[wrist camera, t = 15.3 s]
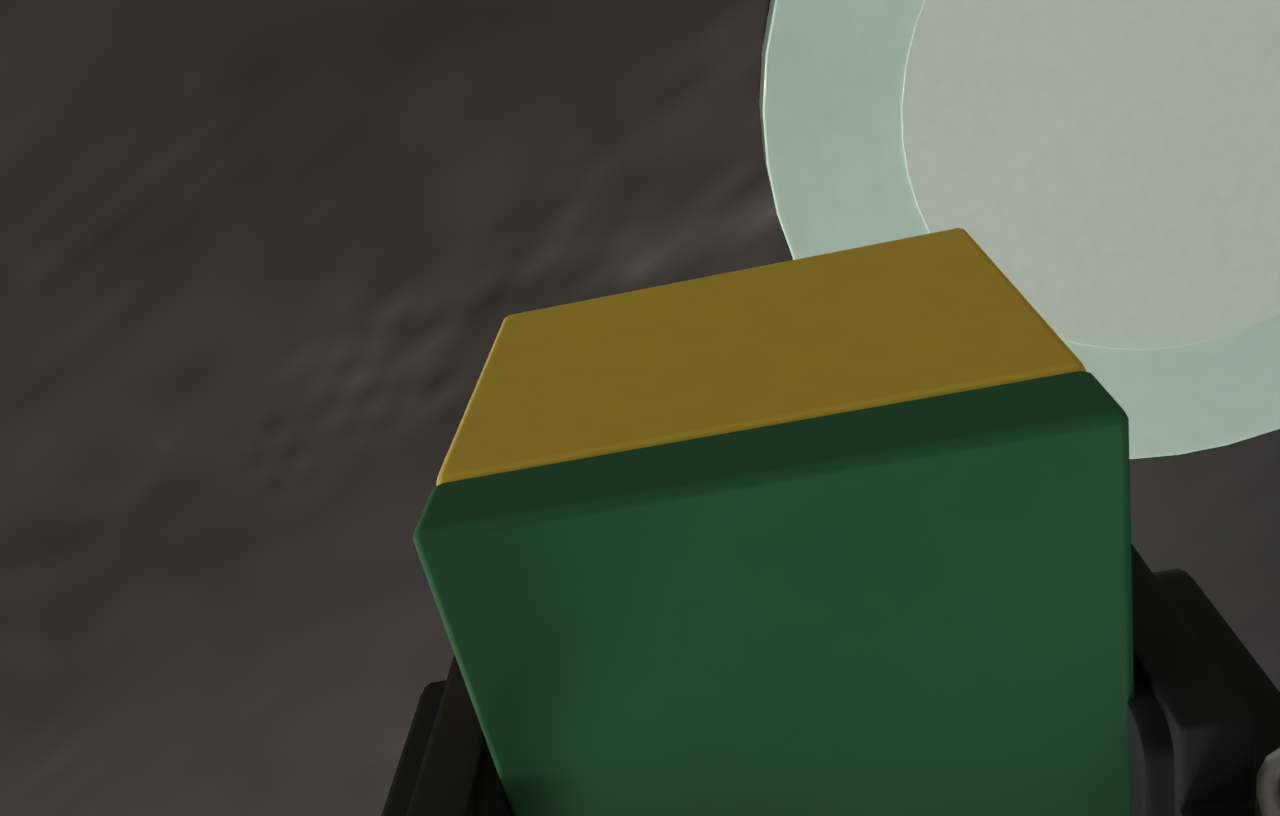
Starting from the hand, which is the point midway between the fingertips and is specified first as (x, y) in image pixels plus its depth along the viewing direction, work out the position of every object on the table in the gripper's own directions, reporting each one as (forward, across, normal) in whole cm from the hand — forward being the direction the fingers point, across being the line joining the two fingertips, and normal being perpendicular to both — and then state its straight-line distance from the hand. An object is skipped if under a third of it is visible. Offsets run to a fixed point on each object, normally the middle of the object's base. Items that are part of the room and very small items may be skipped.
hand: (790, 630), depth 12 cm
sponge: (+1, 0, 0) cm, 1 cm away
